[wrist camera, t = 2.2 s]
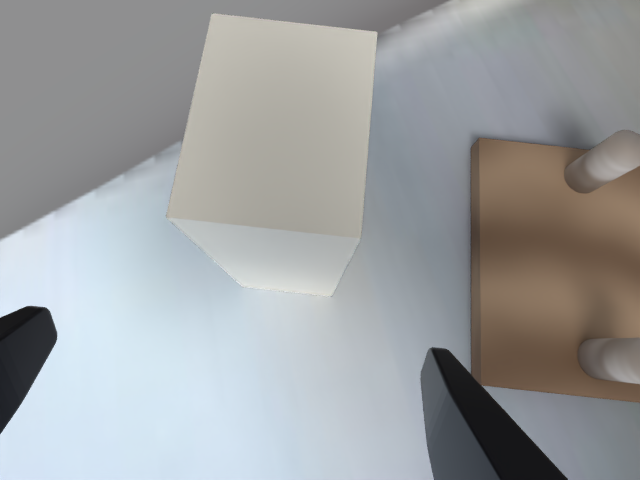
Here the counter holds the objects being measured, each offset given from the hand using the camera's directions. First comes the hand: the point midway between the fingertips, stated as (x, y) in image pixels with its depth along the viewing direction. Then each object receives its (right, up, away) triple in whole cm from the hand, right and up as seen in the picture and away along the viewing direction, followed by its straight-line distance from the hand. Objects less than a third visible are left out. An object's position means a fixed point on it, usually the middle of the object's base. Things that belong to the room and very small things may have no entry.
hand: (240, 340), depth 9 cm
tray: (+17, +1, +13) cm, 21 cm away
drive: (0, +3, +13) cm, 13 cm away
